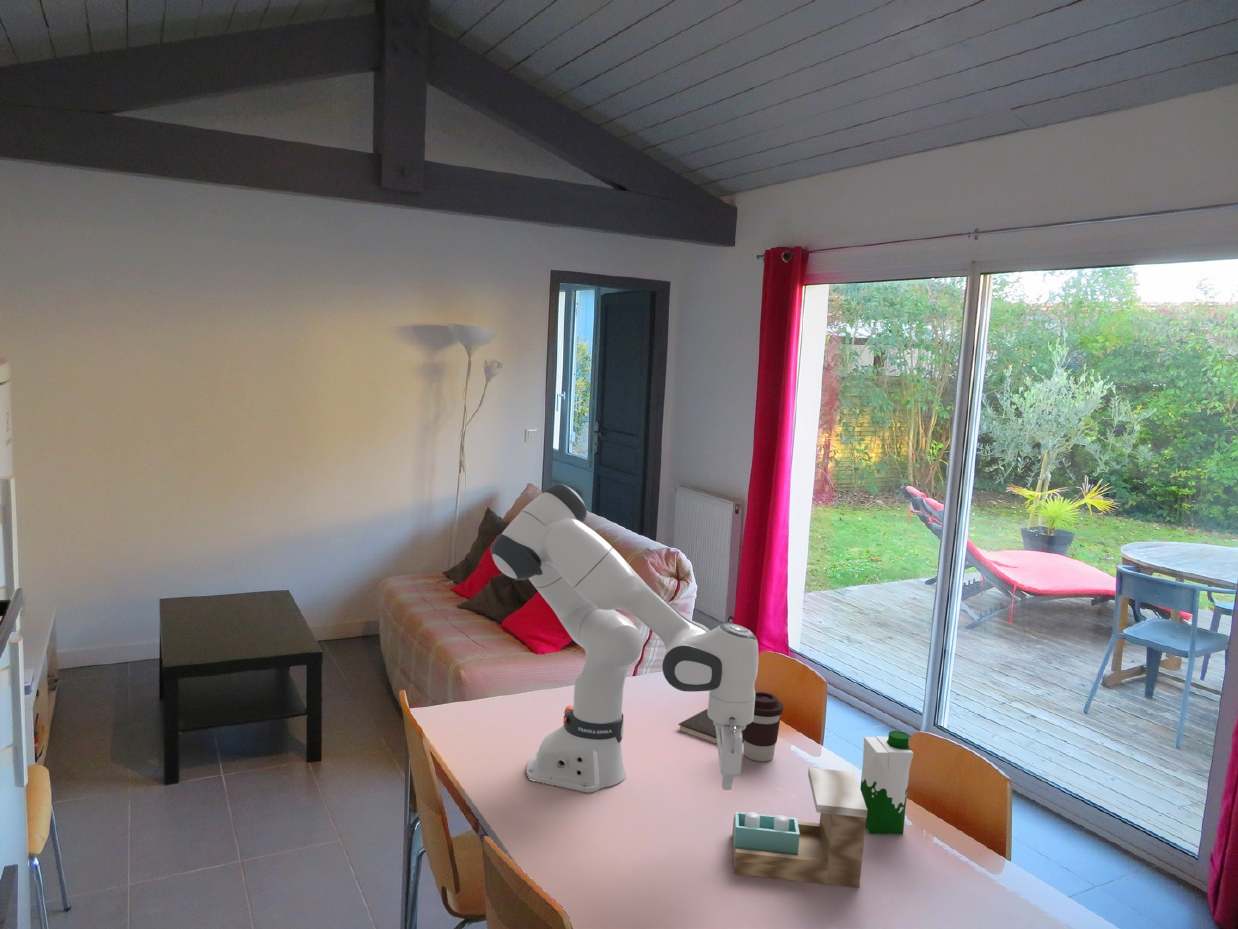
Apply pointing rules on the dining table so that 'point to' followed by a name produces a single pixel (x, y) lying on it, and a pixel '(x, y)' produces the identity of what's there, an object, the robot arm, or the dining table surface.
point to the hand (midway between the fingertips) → (725, 776)
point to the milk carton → (886, 782)
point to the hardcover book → (701, 727)
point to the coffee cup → (763, 728)
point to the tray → (766, 833)
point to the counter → (819, 837)
